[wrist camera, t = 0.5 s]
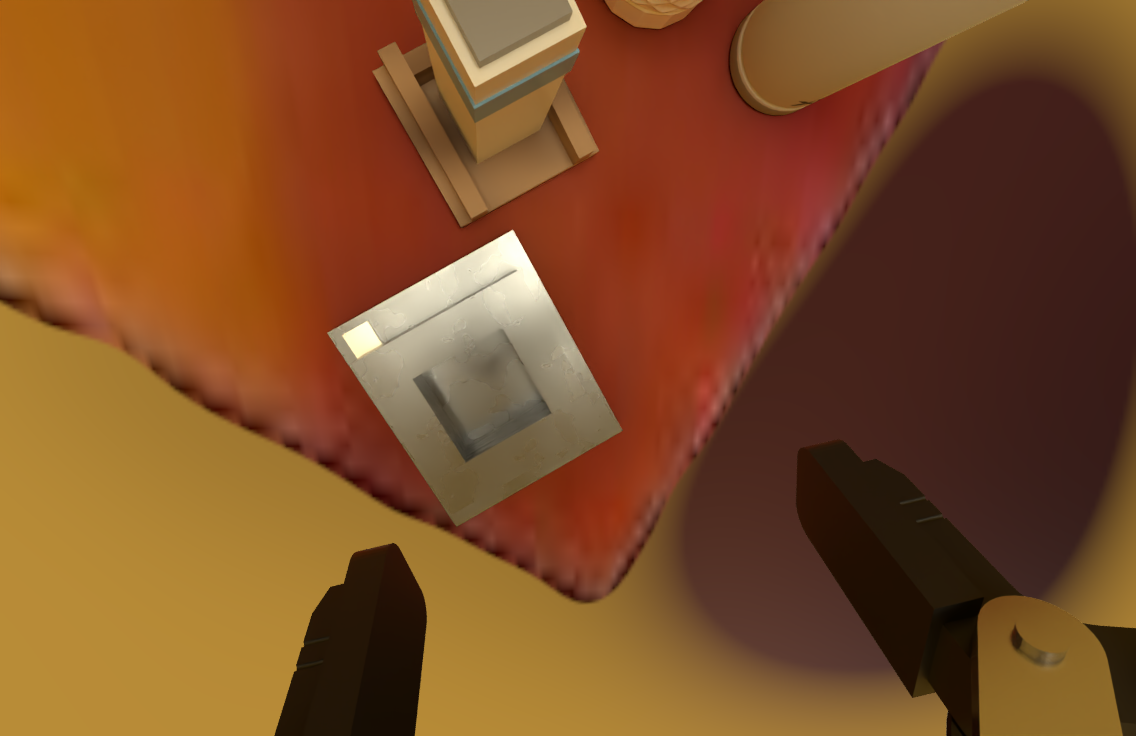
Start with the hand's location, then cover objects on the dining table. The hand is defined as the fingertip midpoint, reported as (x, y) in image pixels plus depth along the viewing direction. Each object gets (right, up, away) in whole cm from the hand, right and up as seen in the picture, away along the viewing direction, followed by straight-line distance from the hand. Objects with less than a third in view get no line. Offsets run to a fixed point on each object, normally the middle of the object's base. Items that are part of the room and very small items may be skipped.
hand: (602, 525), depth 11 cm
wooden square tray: (-5, +17, +20) cm, 27 cm away
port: (-6, +2, +23) cm, 24 cm away
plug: (-5, +17, +19) cm, 26 cm away
